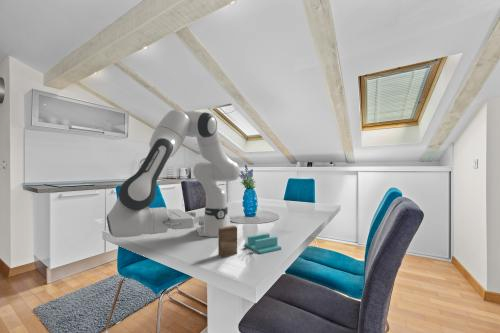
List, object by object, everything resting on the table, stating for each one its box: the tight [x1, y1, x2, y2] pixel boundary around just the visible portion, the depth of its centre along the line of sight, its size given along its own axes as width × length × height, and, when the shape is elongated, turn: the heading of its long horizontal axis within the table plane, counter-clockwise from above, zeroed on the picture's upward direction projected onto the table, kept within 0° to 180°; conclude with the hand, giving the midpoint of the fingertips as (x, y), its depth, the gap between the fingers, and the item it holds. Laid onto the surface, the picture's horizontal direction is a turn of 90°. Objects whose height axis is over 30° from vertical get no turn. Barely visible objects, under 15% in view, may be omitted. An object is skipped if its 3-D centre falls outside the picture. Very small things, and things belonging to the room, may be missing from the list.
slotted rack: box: [244, 232, 282, 255], centre depth 105 cm, size 13×11×4 cm
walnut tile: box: [217, 225, 238, 258], centre depth 96 cm, size 3×7×11 cm, turn 121°
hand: (198, 216), depth 90 cm, fingers open, 8 cm apart
